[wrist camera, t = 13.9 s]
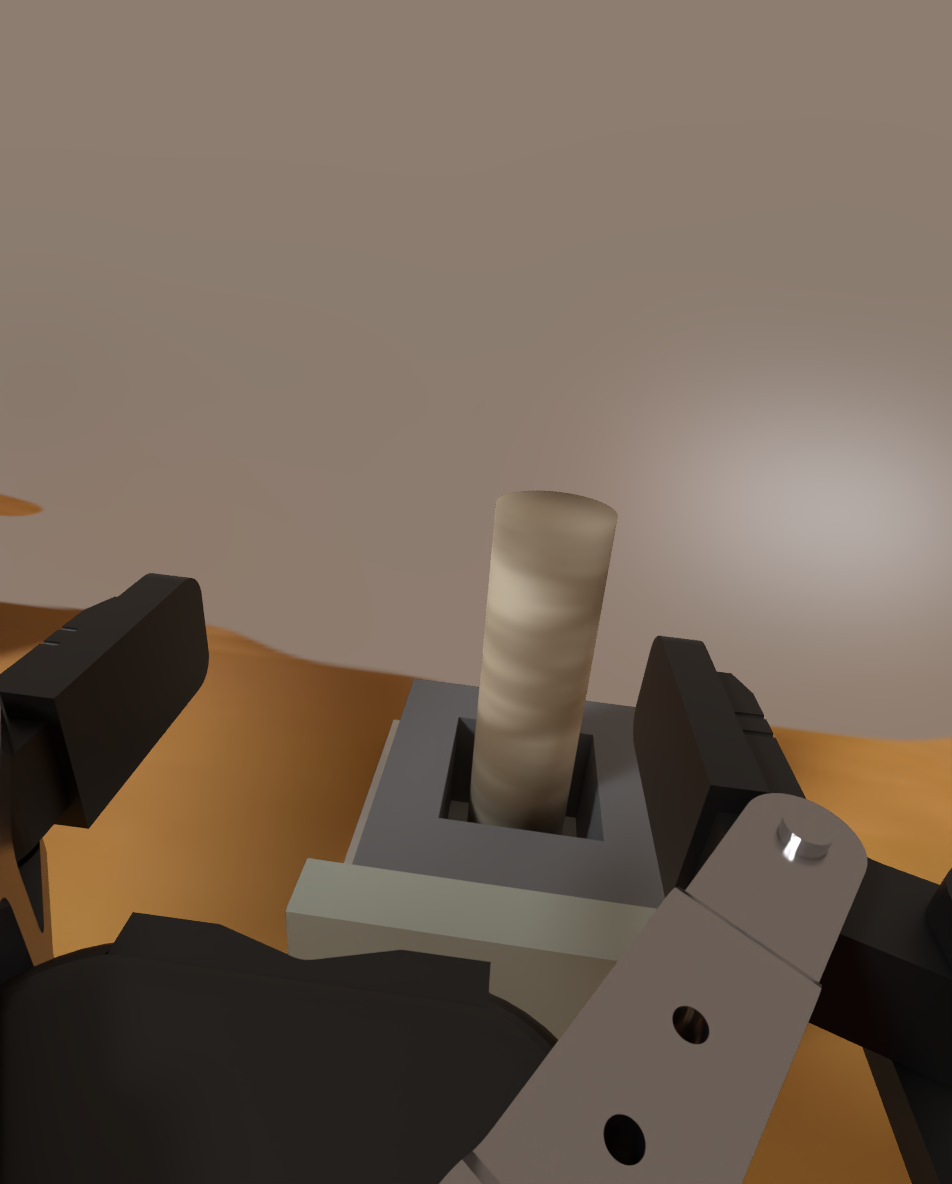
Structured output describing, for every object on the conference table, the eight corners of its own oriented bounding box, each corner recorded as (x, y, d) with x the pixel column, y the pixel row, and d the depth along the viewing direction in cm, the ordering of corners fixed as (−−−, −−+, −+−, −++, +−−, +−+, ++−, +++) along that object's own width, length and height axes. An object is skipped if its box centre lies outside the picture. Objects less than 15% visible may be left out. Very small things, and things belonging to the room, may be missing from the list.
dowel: (458, 893, 26) (492, 521, 19) (468, 821, 30) (499, 486, 23) (556, 906, 26) (624, 534, 19) (554, 831, 30) (611, 497, 23)
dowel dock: (293, 1027, 22) (285, 911, 19) (393, 733, 36) (396, 643, 34) (703, 1092, 21) (753, 981, 19) (640, 766, 36) (663, 677, 33)
